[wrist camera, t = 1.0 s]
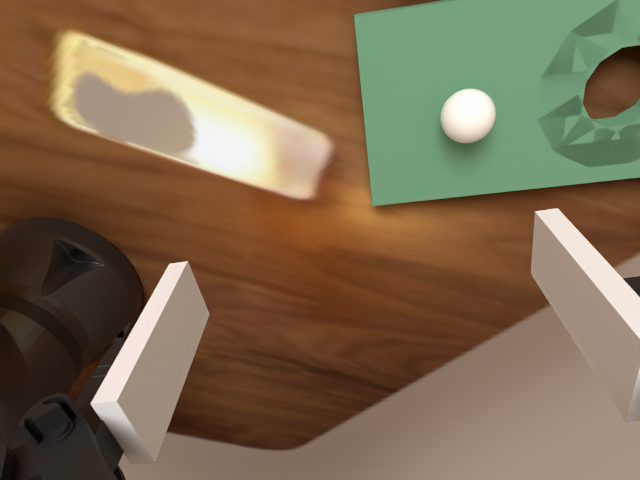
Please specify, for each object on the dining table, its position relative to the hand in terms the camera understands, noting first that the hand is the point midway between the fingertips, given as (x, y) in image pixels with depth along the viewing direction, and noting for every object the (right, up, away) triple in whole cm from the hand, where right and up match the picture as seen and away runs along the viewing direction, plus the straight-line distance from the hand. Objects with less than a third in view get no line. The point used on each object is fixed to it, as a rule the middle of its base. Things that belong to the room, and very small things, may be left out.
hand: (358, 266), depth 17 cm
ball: (+9, +9, +13) cm, 19 cm away
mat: (+14, +12, +16) cm, 24 cm away
